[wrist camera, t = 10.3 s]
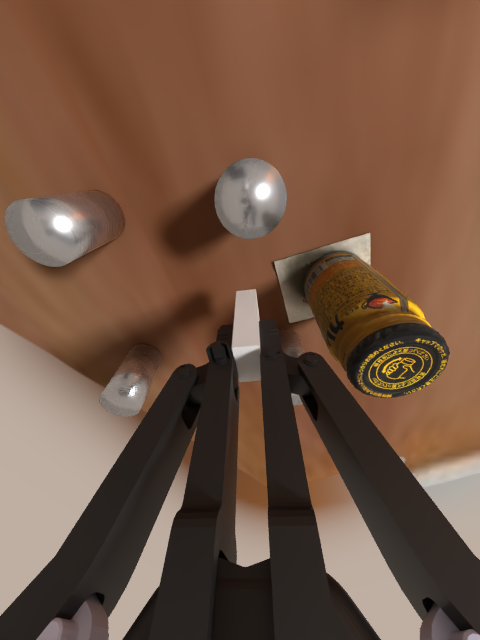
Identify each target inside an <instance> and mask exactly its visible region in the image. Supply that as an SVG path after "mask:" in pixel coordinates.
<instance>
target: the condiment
mask: <svg viewBox="0 0 480 640" xmlns="http://www.w3.org/2000/svg"><path fill="white" fill-rule="evenodd" d="M370 250H371V248H370V233H368V234H365V235H361V236H358V237H354V238H350V239H347V240H344V241H340V242H337V243H333V244H331V245H327V246H324V247H321V248H317V249H315V250H312V251H308V252H304V253H301V254H297V255H294V256H291V257H288V258H286V259H282V260H278V261H275V262H274V264H275V268H276V272H277V275H278V279H279V283H280V287H281V291H282V295H283V299H284V303H285V307H286V311H287V315H288V319H289V323H293V322H298V321H301V320H306V319H310V318H313V317H315V319H316V321H317V324H318V326H319V328H320V330H321V333H322V336H323V338H324V340H325V342H326V344H327V347H328V348H329V351H330V353H331V354H332V356H333V357H334V358H335V359H336V361H338V362H339V363H340V364H341V365H342V367H343V368H344V370H345V371H346V372H347V377H348V379H349V380H350V382H351V383H352V384H353V385H354V387H355V388H356V389H358V390H359V391H361V392H362V393H364V394H366V395H371V396H374V397H381V398H392V397H398V396H403V395H406V394H410V393H413V392H416V391H418V390H420V389H422V388H424V387H426V386H427V385H429V384H430V383H431V382H433V381H434V380H435V379H436V378H437V377H438V376H439V375H440V374H441V373H442V371H443V370H444V369H445V367H446V365H447V361H448V357H449V354H450V352H449V348H448V346H447V344H446V341H445V339H444V338H443V337H442V336H441V335H440V334H439V332H437V331H435V330H434V329H433V328H432V327H431V325H430V324H429V323H428V322H427V321H426V320H425V318H424V314H423V312H422V310H421V309H420V308H419V307H418V306H417V305H416V303H415V302H414V301H412V300H411V299H410V298H409V297H408V296H407V295H405V294H404V293H403V292H402V291H401V290H399V289H398V288H396V287H395V286H394V285H393V284H392V283H391V282H390V281H388V280H387V279H386V278H385V277H384V276H382V275H381V274H380V273H378V272H377V271H376V270H375V269H373V268H372V267H371V266H370ZM309 262H310V265H308V263H309ZM302 300H305V301H306V302H307V301H308V303H309V304H308V303H306V302H302Z"/></svg>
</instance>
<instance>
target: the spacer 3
mask: <svg viewBox="0 0 480 640" xmlns="http://www.w3.org/2000/svg"><path fill="white" fill-rule="evenodd" d="M286 202H287V194H286V188H285V184H284V181H283V179H282V177H281V175H280V174H279V172H278V171H277V170H276V169H275V168H274V167H273V166H272V165H271V164H269V163H267V162H266V161H263V160H261V159H256V158H247V159H242V160H239V161H237V162H235V163H233V164H232V165H230V166H229V167H228V168H227V169H226V170H225V171H224V172H223V174H222V175H221V177H220V179H219V181H218V183H217V186H216V190H215V209H216V213H217V215H218V218H219V220H220V222H221V223H222V224H223V226H224V227H225V228H226V229H227V230H228V231H229V232H231V233H232V234H234V235H236V236H238V237H241V238H245V239H255V238H259V237H262V236H264V235H266V234H268V233H269V232H271V231H272V230H273V229H274V228H275V227H276V226H277V225H278V223H279V222H280V220H281V218H282V217H283V214H284V212H285V208H286Z"/></svg>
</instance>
